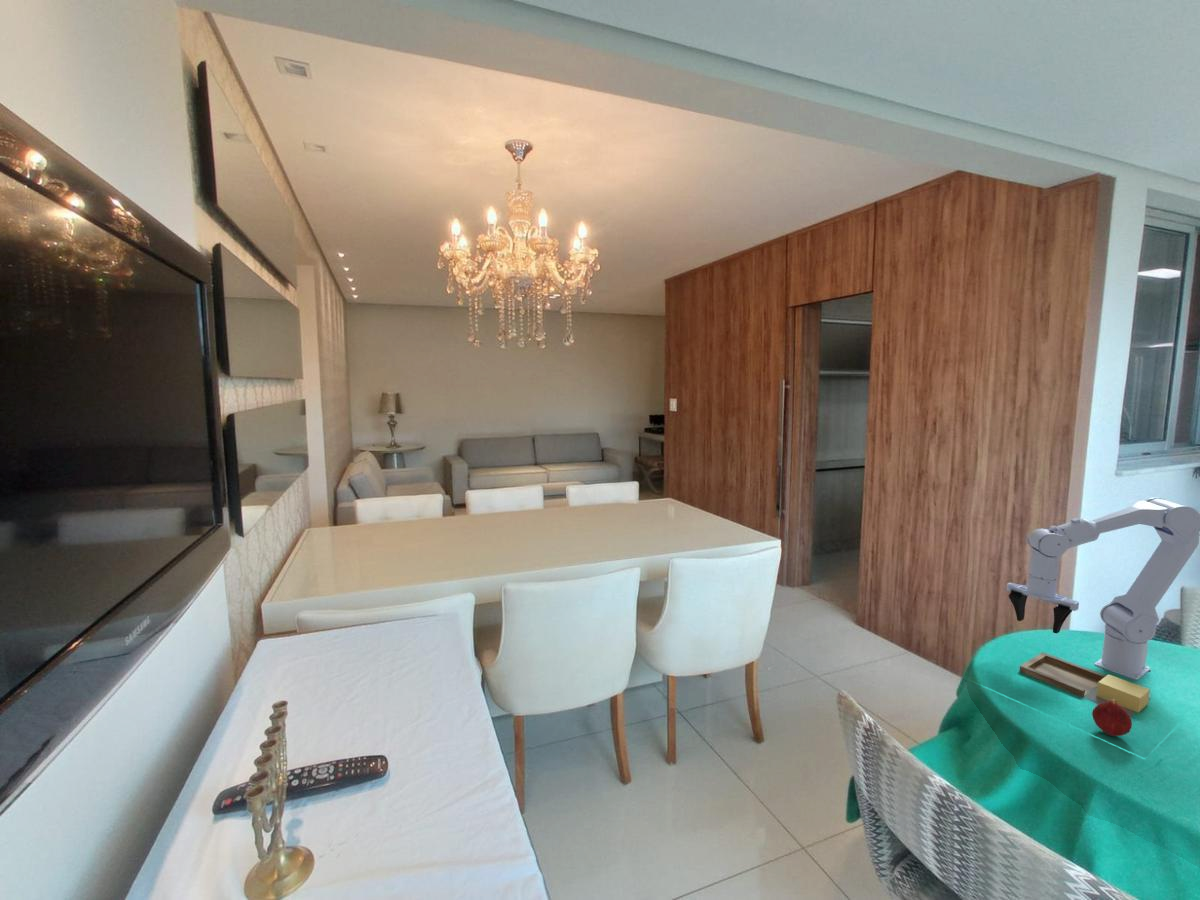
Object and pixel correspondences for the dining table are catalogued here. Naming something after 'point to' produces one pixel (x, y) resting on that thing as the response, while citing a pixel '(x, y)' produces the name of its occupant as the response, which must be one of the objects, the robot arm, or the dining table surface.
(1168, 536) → the robot arm
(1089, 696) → the mat
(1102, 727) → the onion
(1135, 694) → the block
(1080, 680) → the brown wooden tray
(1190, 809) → the dining table surface
